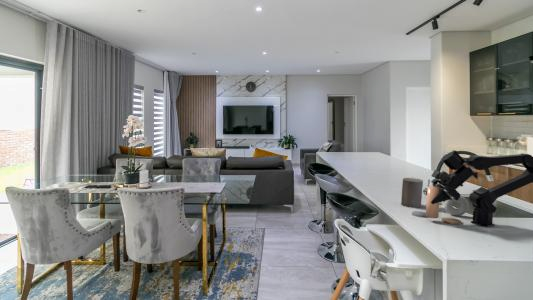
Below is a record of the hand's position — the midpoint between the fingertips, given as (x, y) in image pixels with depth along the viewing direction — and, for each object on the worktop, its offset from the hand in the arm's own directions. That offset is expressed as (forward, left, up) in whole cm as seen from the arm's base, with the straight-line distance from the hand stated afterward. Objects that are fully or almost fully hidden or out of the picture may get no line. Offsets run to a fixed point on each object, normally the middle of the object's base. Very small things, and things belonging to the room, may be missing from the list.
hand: (429, 201), depth 143 cm
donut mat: (-4, -9, -9) cm, 13 cm away
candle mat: (+8, -4, -9) cm, 13 cm away
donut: (+2, -19, -9) cm, 21 cm away
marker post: (-1, -1, -7) cm, 7 cm away
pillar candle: (+23, -13, -9) cm, 28 cm away
